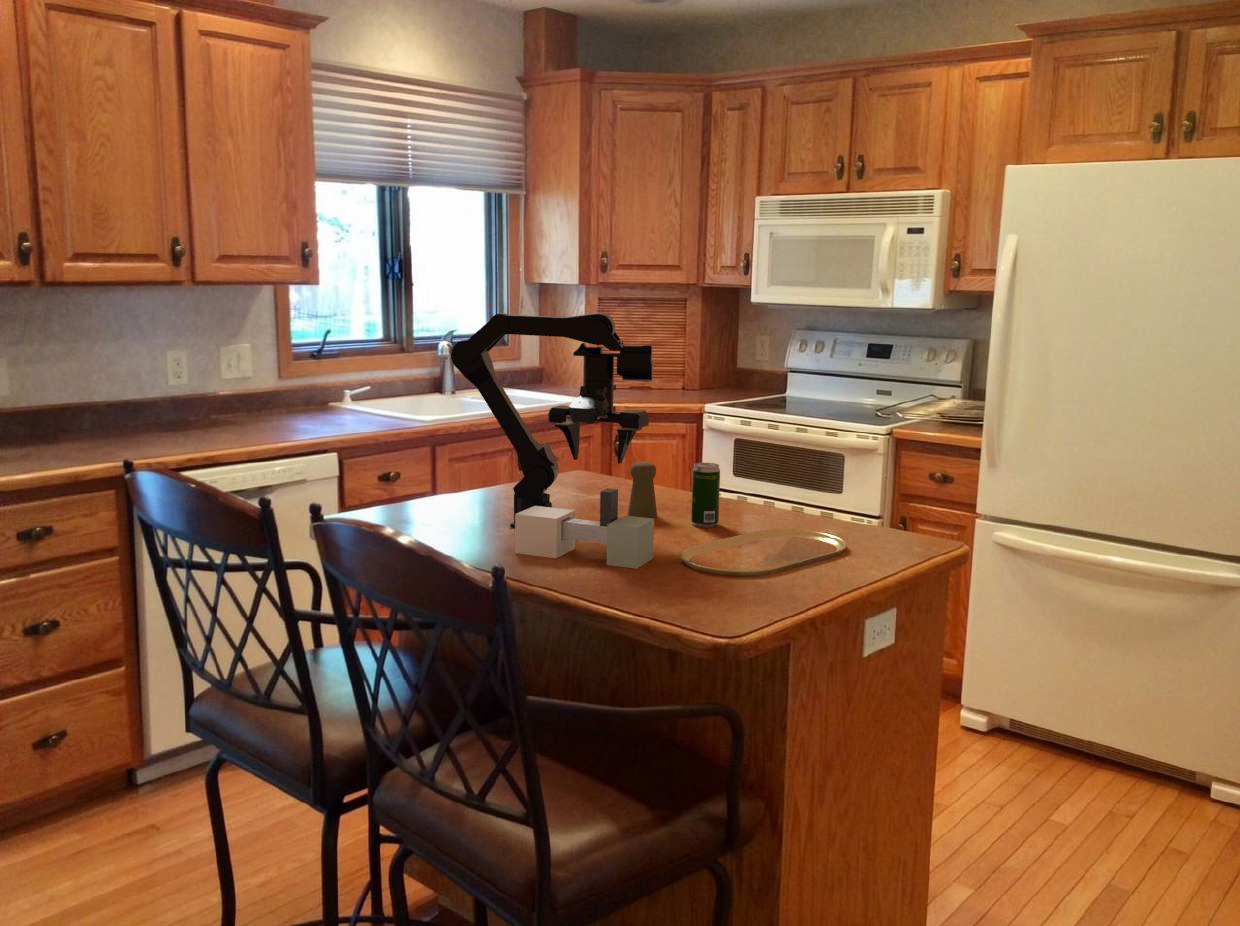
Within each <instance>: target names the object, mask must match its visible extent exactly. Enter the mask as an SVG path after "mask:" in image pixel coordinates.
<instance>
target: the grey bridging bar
mask: <svg viewBox="0 0 1240 926" xmlns="http://www.w3.org/2000/svg"><path fill="white" fill-rule="evenodd" d="M599 502H600V503H599V504H600V505H599V521H597V520H590V519H589V520H588V519H580V518H575V519H572V518H566V519H563V520H562V523H561V538H562V539H570V540H575V541H581V542H586V543H587V542H589V543H597V544H605V545H607V524H609V523H611V522H613V521H615V520H617V519H619V511H618V510H619V489H618V488H617V489H616V488H605V489H604V490H601V491H600V497H599Z"/></svg>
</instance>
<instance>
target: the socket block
mask: <svg viewBox="0 0 1240 926" xmlns="http://www.w3.org/2000/svg"><path fill="white" fill-rule="evenodd" d="M654 540H655V518H643V517H634V516H628V515H623V516H621V517H618V519H617V520H615V521H613V522H611V523H609V524H607V544H606V565H607V566H613V567H620V568H630V569H639V568H640V567H643V565H645V564H646V563H648V562H649V561H651V560H653V559H654V551H655V550H654V547H655V546H654V545H655V543H654Z"/></svg>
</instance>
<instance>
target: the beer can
mask: <svg viewBox="0 0 1240 926" xmlns="http://www.w3.org/2000/svg"><path fill="white" fill-rule="evenodd" d="M691 482H692V483H691V486H692V487H691V488H692V489H691V512H690V513H691V518H690V520H691V523H692V525H693V526H694V527H697V528H715V527H717V526H718V524H719V519H720V518H719V516H720V492H721V491H720V490H721V489H720V487H721V486H720V484H721V469H720V464H718V463H714V462H696V463H694V464H693V468H692V480H691Z"/></svg>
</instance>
